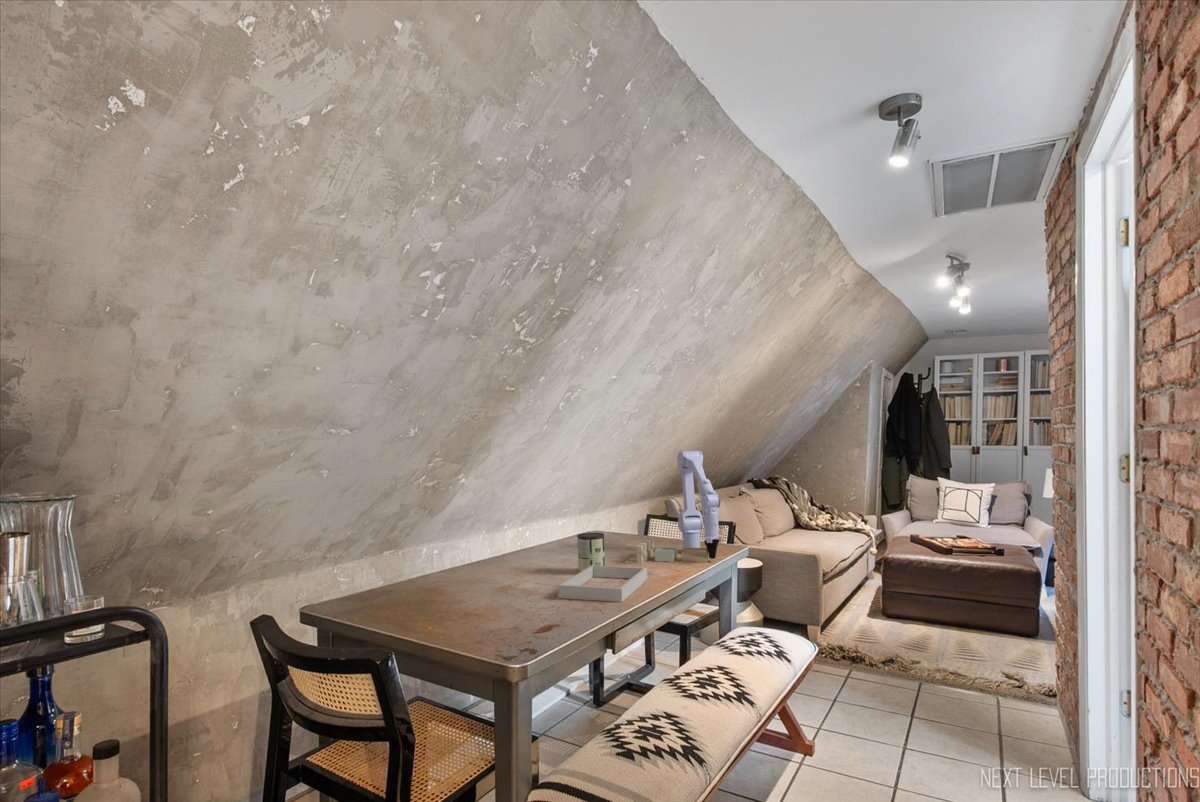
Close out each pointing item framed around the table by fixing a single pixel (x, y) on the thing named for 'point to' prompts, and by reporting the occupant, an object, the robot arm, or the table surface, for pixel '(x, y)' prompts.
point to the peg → (695, 554)
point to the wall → (642, 552)
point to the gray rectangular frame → (576, 591)
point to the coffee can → (590, 550)
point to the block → (666, 554)
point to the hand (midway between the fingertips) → (712, 558)
